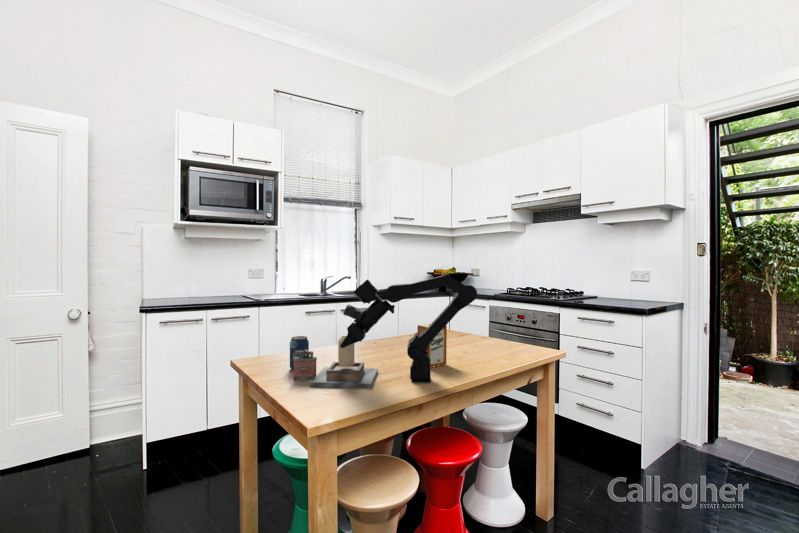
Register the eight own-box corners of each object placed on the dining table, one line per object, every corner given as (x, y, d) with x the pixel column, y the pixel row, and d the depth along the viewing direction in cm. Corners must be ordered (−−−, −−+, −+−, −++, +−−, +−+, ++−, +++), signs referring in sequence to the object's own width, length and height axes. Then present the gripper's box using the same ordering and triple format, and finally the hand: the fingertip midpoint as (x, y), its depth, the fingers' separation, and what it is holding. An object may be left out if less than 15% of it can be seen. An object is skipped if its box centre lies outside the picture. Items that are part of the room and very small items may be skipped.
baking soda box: (427, 368, 152) (427, 326, 151) (417, 364, 157) (417, 324, 157) (446, 364, 157) (446, 324, 157) (435, 361, 162) (436, 322, 162)
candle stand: (377, 372, 145) (377, 360, 145) (371, 388, 127) (371, 374, 127) (324, 371, 147) (324, 359, 147) (309, 386, 129) (310, 373, 129)
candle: (351, 361, 140) (351, 333, 140) (356, 365, 135) (356, 336, 135) (336, 363, 138) (336, 334, 138) (340, 367, 133) (340, 337, 133)
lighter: (317, 377, 139) (317, 349, 139) (315, 380, 135) (315, 351, 135) (294, 377, 138) (294, 349, 138) (292, 380, 135) (292, 351, 135)
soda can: (293, 372, 144) (293, 340, 144) (287, 368, 150) (287, 337, 150) (311, 369, 148) (311, 338, 148) (304, 365, 154) (304, 335, 154)
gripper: (360, 294, 146) (331, 324, 146) (353, 299, 127) (319, 334, 128) (382, 315, 146) (352, 345, 146) (378, 324, 127) (344, 358, 127)
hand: (342, 345), depth 137 cm, fingers closed on candle, 5 cm apart
